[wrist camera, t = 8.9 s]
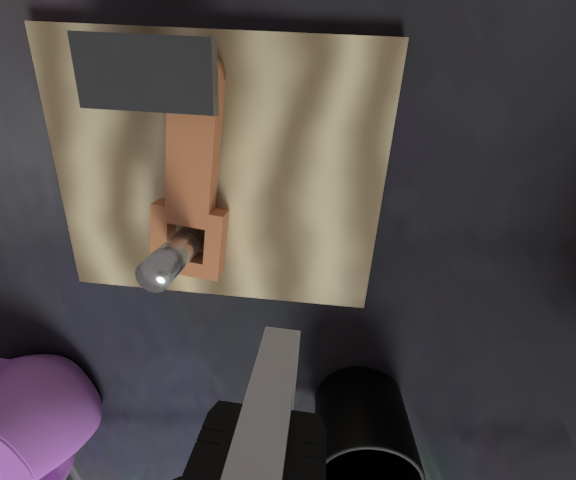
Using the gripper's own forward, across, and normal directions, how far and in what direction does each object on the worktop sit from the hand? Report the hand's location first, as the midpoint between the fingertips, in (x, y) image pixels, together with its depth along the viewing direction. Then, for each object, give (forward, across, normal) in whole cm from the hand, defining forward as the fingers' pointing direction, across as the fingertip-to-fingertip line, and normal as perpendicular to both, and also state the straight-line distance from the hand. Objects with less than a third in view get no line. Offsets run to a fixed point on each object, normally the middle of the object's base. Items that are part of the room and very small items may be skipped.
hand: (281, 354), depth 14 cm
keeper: (+15, -11, +12) cm, 22 cm away
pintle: (+15, -10, -1) cm, 18 cm away
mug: (+17, +6, -20) cm, 27 cm away
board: (+16, -8, +4) cm, 19 cm away
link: (+15, -9, +5) cm, 18 cm away
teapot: (+16, -29, -24) cm, 41 cm away
